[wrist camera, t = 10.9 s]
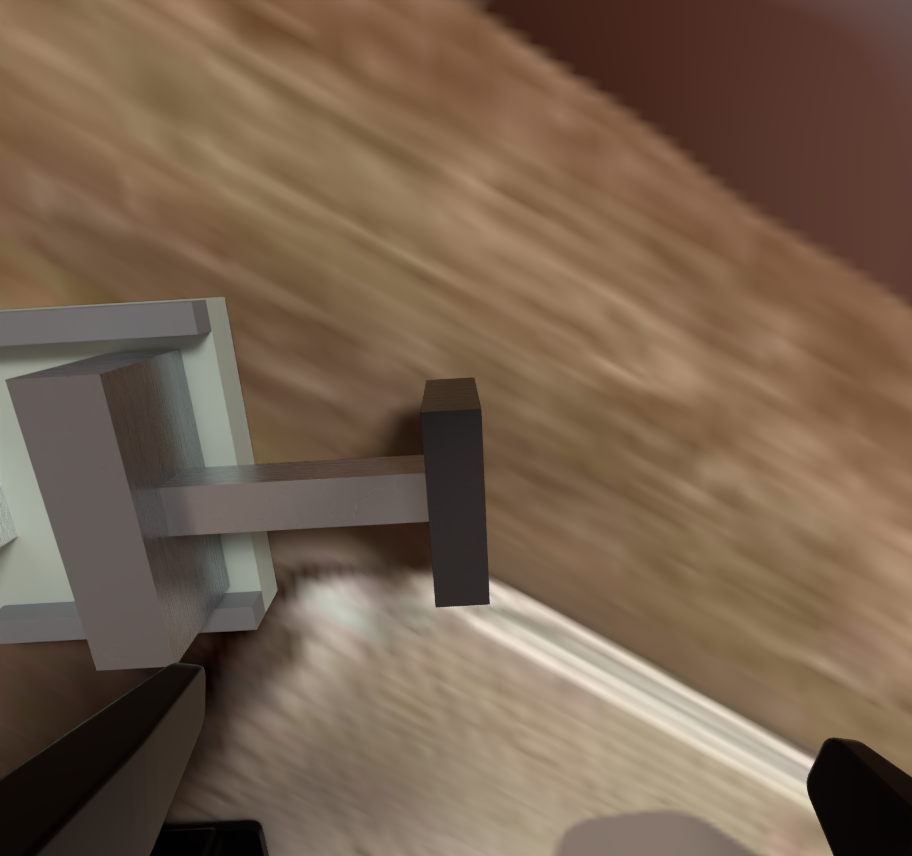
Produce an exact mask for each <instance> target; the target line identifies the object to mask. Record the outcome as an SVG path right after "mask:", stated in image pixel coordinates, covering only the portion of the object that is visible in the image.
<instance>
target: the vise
mask: <svg viewBox="0 0 912 856" xmlns="http://www.w3.org/2000/svg"><path fill="white" fill-rule="evenodd" d="M170 349H180V350H181V354H182V359H183V364H184V369H185V373H186V378H187V383H188V388H189V392H190V397H191V402H192V407H193V411H194V416H195V421H196V426H197V430H198V435H199V440H200V444H201V449H202V454H203V459H204V463H205V467H216V466H233V465H251V464H255V463H254V458H253V452H252V447H251V441H250V436H249V430H248V425H247V419H246V414H245V408H244V403H243V397H242V392H241V386H240V380H239V375H238V369H237V364H236V358H235V353H234V347H233V342H232V336H231V331H230V325H229V320H228V314H227V309H226V303H225V298H224V297H216V298H199V299H181V300H164V301H147V302H130V303H113V304H96V305H78V306H61V307H44V308H27V309H10V310H0V484H1V487H2V489H3V492H4V495H5V498H6V501H7V504H8V507H9V510H10V513H11V516H12V519H13V522H14V525H15V528H16V531H17V534H18V536H17V537H16V538H14V539H12V540H11V541H9V542H8V543H6V544H4V545H3V546H1V547H0V644H8V643H26V642H44V641H62V640H80V639H87V638H86V635H85V632H84V629H83V625H82V622H81V619H80V616H79V613H78V610H77V606H76V603H75V600H74V597H73V594H72V591H71V587H70V584H69V581H68V578H67V575H66V572H65V568H64V565H63V562H62V559H61V556H60V552H59V549H58V546H57V543H56V540H55V537H54V533H53V530H52V527H51V524H50V521H49V518H48V514H47V511H46V508H45V505H44V502H43V499H42V495H41V492H40V489H39V486H38V483H37V480H36V476H35V473H34V470H33V467H32V464H31V461H30V457H29V454H28V451H27V448H26V445H25V441H24V438H23V435H22V432H21V429H20V426H19V422H18V419H17V416H16V413H15V410H14V407H13V403H12V400H11V397H10V394H9V391H8V388H7V384H6V381H5V380H6V379H10V378H14V377H18V376H22V375H25V374H29V373H33V372H37V371H41V370H45V369H48V368H52V367H56V366H60V365H64V364H68V363H71V362H75V361H79V360H83V359H87V358H91V357H94V356H98V355H102V354H106V353H118V352H135V351H152V350H170ZM219 535H220V539H221V544H222V549H223V553H224V558H225V563H226V568H227V572H228V577H229V582H230V587H229V588H228V590H227V591H226V593H225V594H224V596H223V597H222V599H221V600H220V602H219V603H218V605H217V606H216V607H215V609H214V610H213V612H212V613H211V615H210V616H209V618H208V619H207V621H206V622H205V624H204V625H203V627H202V628H201V630H200V631H199V632H198V633H206V632H224V631H242V630H257V628H258V626H259V625H260V623H261V621H262V619H263V617H264V615H265V613H266V611H267V609H268V607H269V605H270V604H271V602H272V600H273V598H274V596H275V594H276V592H277V585H276V579H275V574H274V568H273V563H272V557H271V552H270V546H269V541H268V535H267V531H255V532H237V533H219Z"/></svg>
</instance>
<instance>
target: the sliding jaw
mask: <svg viewBox="0 0 912 856" xmlns="http://www.w3.org/2000/svg"><path fill="white" fill-rule="evenodd" d="M5 381H6V384H7V388H8V391H9V394H10V397H11V400H12V403H13V407H14V410H15V413H16V416H17V419H18V422H19V426H20V429H21V432H22V435H23V438H24V441H25V445H26V448H27V451H28V454H29V457H30V461H31V464H32V467H33V470H34V473H35V476H36V480H37V483H38V486H39V489H40V492H41V495H42V499H43V502H44V505H45V508H46V511H47V514H48V518H49V521H50V524H51V527H52V530H53V533H54V537H55V540H56V543H57V546H58V549H59V552H60V556H61V559H62V562H63V565H64V568H65V572H66V575H67V578H68V581H69V584H70V587H71V591H72V594H73V597H74V600H75V603H76V606H77V610H78V613H79V616H80V619H81V622H82V625H83V629H84V632H85V635H86V638H87V641H88V644H89V648H90V651H91V654H92V657H93V660H94V664H95V667H96V670H97V671H99V670H117V669H135V668H153V667H166V666H168V665H170V664H172V663H178V662H179V660H180V659H181V657H182V656H183V655H184V653H185V652H186V650H187V649H188V647H189V646H190V644H191V643H192V641H193V640H194V638H195V637H196V635H197V634H198V632H199V631H200V630H201V628H202V627H203V625H204V624H205V622H206V621H207V619H208V618H209V616H210V615H211V613H212V612H213V610H214V609H215V607H216V606H217V605H218V603H219V602H220V600H221V599H222V597H223V596H224V594H225V593H226V591H227V590H228V588H229V587H230V582H229V577H228V572H227V568H226V563H225V558H224V553H223V549H222V544H221V539H220V535H219V533H237V532H255V531H272V530H290V529H308V528H325V527H343V526H361V525H379V524H396V523H414V522H429V529H430V542H431V554H432V567H433V580H434V593H435V605H436V607H450V606H468V605H486V604H490V601H489V578H488V555H487V531H486V508H485V485H484V462H483V439H482V415H481V406H480V401H479V397H478V392H477V388H476V383H475V379H474V378H457V379H440V380H426V385H425V390H424V396H423V401H422V406H421V411H420V415H421V427H422V440H423V453H424V455H409V456H391V457H374V458H356V459H339V460H321V461H303V462H286V463H268V464H251V465H233V466H216V467H205V463H204V459H203V454H202V449H201V444H200V440H199V435H198V430H197V426H196V421H195V416H194V411H193V407H192V402H191V397H190V392H189V388H188V383H187V378H186V373H185V369H184V364H183V359H182V354H181V350H180V349H170V350H152V351H135V352H118V353H106V354H102V355H98V356H94V357H91V358H87V359H83V360H79V361H75V362H71V363H68V364H64V365H60V366H56V367H52V368H48V369H45V370H41V371H37V372H33V373H29V374H25V375H22V376H18V377H14V378H10V379H6V380H5Z"/></svg>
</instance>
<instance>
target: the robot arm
mask: <svg viewBox="0 0 912 856" xmlns="http://www.w3.org/2000/svg"><path fill="white" fill-rule="evenodd" d="M204 714H205V671H204V668H203V667H202V666H200V665H195V664H186V663H172V664H170V665H168V666H166V667H165V668H163V669H162V670H160V671H159V672H157V673H156V674H154V675H153V676H151V677H150V678H148V679H147V680H146V681H144V682H143V683H141V684H140V685H138V686H137V687H135V688H134V689H132V690H131V691H129V692H128V693H126V694H125V695H123V696H122V697H120V698H119V699H117V700H116V701H114V702H113V703H111V704H110V705H108V706H107V707H106V708H104V709H103V710H101V711H100V712H98V713H97V714H95V715H94V716H92V717H91V718H89V719H88V720H86V721H85V722H83V723H82V724H80V725H79V726H77V727H76V728H74V729H73V730H71V731H70V732H68V733H67V734H65V735H64V736H63V737H61V738H60V739H58V740H57V741H55V742H54V743H52V744H51V745H49V746H48V747H46V748H45V749H43V750H42V751H40V752H39V753H37V754H36V755H34V756H33V757H31V758H30V759H28V760H27V761H25V762H24V763H23V764H21V765H20V766H18V767H17V768H15V769H14V770H12V771H11V772H9V773H8V774H6V775H5V776H3V777H2V778H0V856H269V855H268V851H267V846H266V842H265V837H264V833H263V828H262V826H261V825H260V824H259V823H256V822H232V823H214V824H195V825H177V826H162V825H163V822H164V820H165V817H166V815H167V812H168V810H169V807H170V805H171V802H172V800H173V797H174V795H175V792H176V790H177V787H178V785H179V782H180V780H181V778H182V775H183V773H184V770H185V768H186V765H187V763H188V760H189V758H190V755H191V753H192V750H193V748H194V745H195V743H196V740H197V738H198V735H199V733H200V730H201V727H202V724H203V720H204ZM807 791H808V795H809V798H810V800H811V803H812V805H813V808H814V810H815V812H816V815H817V817H818V820H819V822H820V824H821V827H822V829H823V832H824V834H825V836H826V839H827V841H828V844H829V846H830V848H831V851H832V853H833V855H834V856H912V777H911V776H909V775H908V774H906V773H905V772H903V771H902V770H901V769H899V768H898V767H896V766H895V765H893V764H892V763H891V762H889V761H888V760H886V759H885V758H883V757H882V756H881V755H879V754H878V753H876V752H875V751H873V750H872V749H871V748H869V747H868V746H866V745H865V744H863V743H861V742H859V741H856V740H850V739H842V738H829V739H827V740H826V741H825V742H824V743H823V745H822V747H821V749H820V751H819V753H818V755H817V757H816V760H815V762H814V764H813V766H812V768H811V770H810V772H809V774H808V777H807Z"/></svg>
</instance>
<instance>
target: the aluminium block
mask: <svg viewBox="0 0 912 856" xmlns="http://www.w3.org/2000/svg"><path fill="white" fill-rule="evenodd" d="M17 536H18V534H17V531H16V528H15V525H14V522H13V519H12V516H11V513H10V510H9V507H8V504H7V501H6V498H5V495H4V492H3V489H2V487H1V484H0V547H1V546H3V545H4V544H6V543H8V542H9V541H11V540H12V539H14V538H16V537H17Z"/></svg>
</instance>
